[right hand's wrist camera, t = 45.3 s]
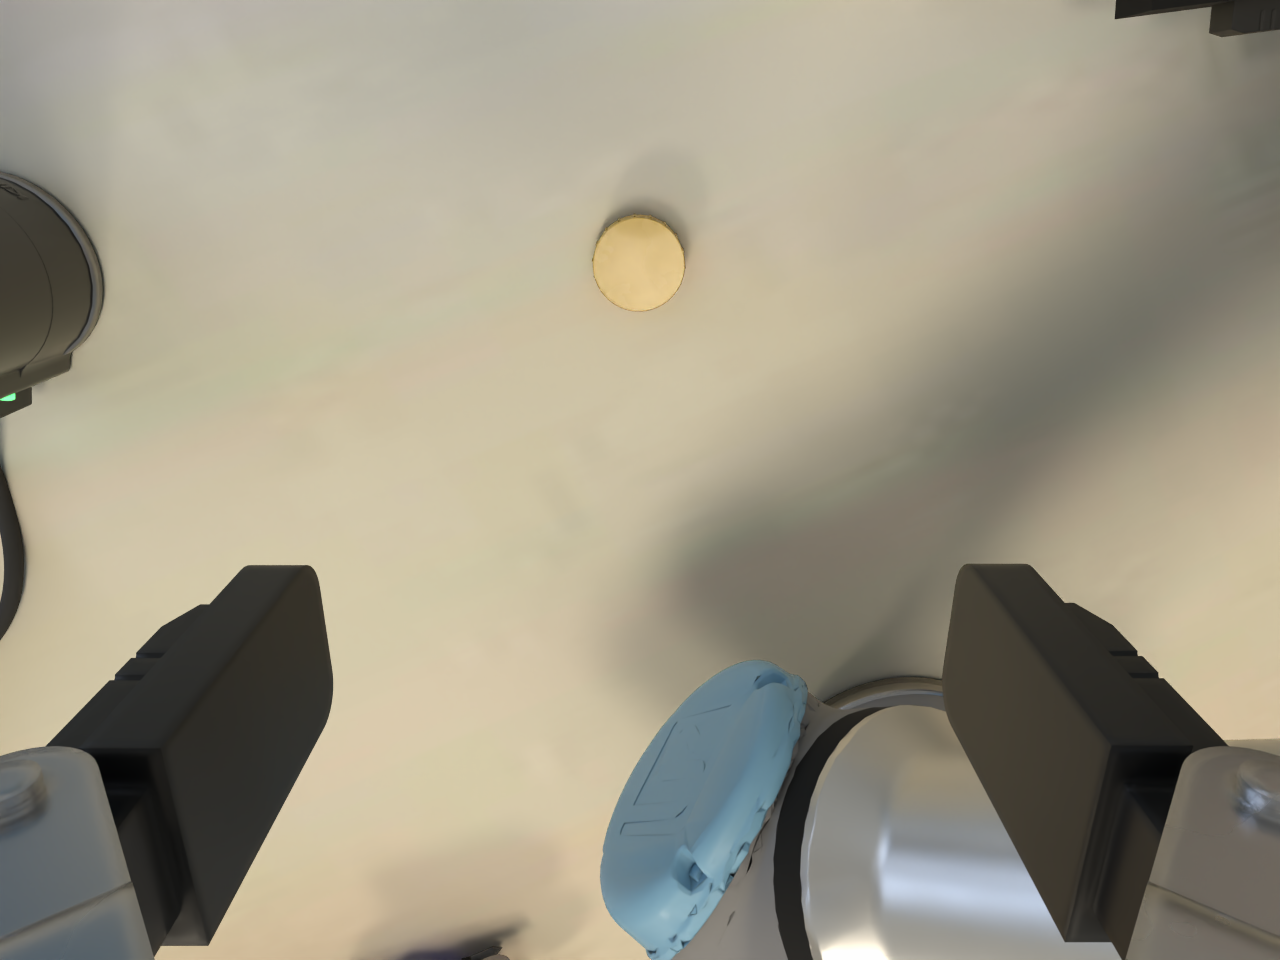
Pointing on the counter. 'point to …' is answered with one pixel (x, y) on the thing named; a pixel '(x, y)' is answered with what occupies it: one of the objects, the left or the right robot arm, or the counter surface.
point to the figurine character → (488, 955)
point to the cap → (638, 263)
